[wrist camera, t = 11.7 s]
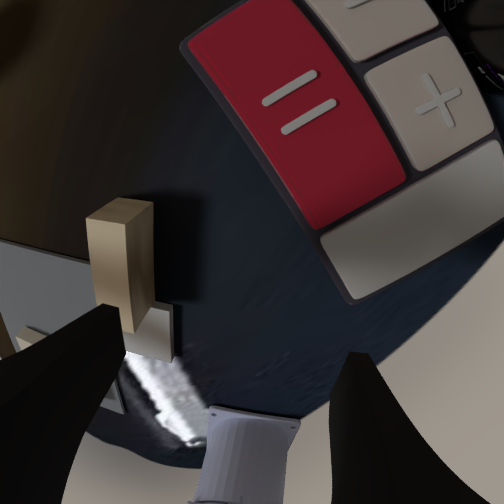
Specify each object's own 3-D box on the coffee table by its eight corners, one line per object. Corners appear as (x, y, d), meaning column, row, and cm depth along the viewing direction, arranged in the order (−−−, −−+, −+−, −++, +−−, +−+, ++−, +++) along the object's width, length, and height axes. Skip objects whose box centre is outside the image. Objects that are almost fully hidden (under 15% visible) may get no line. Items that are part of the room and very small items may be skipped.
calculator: (378, -68, 7) (531, 213, 11) (364, -33, 11) (491, 192, 15) (167, 41, 11) (350, 318, 15) (198, 57, 15) (342, 276, 18)
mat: (125, 411, 28) (123, 414, 28) (27, 370, 29) (26, 372, 29) (94, 262, 20) (91, 265, 20) (-19, 233, 21) (-22, 235, 21)
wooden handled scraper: (174, 355, 23) (159, 390, 20) (117, 340, 23) (97, 370, 20) (174, 204, 18) (148, 228, 14) (101, 195, 18) (67, 215, 15)
